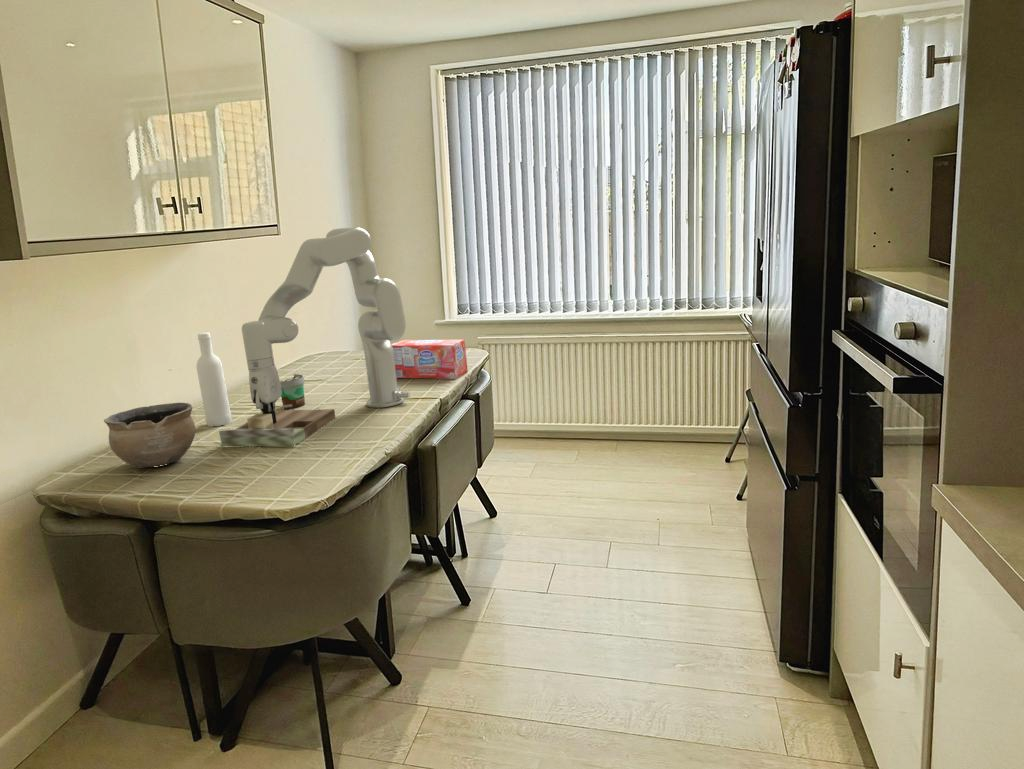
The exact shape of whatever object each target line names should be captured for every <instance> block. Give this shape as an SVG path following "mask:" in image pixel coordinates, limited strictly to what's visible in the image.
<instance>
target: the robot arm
mask: <svg viewBox="0 0 1024 769" xmlns="http://www.w3.org/2000/svg"><path fill="white" fill-rule="evenodd" d="M371 244H372V239H371V235H370V234H369V233H368V231H367V230H366V229H364V228H362V227H339V228H334V229H331V230H329V231H328V232H327V234H326V235H325V237H321V238H319V237H318V238H317V237H316V238H310V239H306V240H305V241H303V242H302V244H301V245H300V247H299V248H298V249H299V250H298V251H297V252H296V255H295V258H294V260H293V263H292V264H291V267H290V268H289V271H288V273H287V276H286V278H285V279H284V281H283V282H282V283H281V285H280V286H278V288H277V289H276V290H275V291H274V292H273V293H272V295H271V296H270V297H269V298H268V300H267V301H266V303H265V305H264V306H263V308H262V311H261V313H260V314H259V318H258V320H253V321H248V322H245V323H243V324H242V325H241V334H242V339H243V344H244V353H245V359H246V364H247V369H248V370H247V371H248V382H249V383H248V384H249V393H250V397H251V401H252V403H253V404H254V405H255V409H256V410H259V409H260V412H261V414H272V419H273V424H275V423H276V422H277V421H276V415H275V411H276V402H277V401H278V400H279V398H281V396H282V389H281V384H280V382H281V381H280V375H279V372H278V369H277V367H276V364H275V359H274V353H273V346H272V345H273V344H285V343H286V344H287V343H290V342H292V341H293V340H294V339H297V337H298V334H299V325H298V324H297V322H296V321H295V320H294V319H292V318H290V317H286V316H287V314H288V312H289V311H290V310H291V309H292V308H293V307H294V306H295V305H296V304H298V303H300V302H301V301H303V300H304V299H306V298H308V297H309V296H310V295H311V294H313V291H314V289H315V287H316V284H317V282H318V280H319V278H320V275H321V274H322V271H323V268H325V267H334V266H339V265H341V264H343V263H346V265H347V266H348V268H349V271H350V272H349V273H350V275H351V276H350V277H351V280H352V286H353V288H354V289H353V290H354V295H355V297H356V298H355V299H356V301H357V303H358V304H359V305H360V306H362V307H365V308H376V309H372V310H367V311H365V312H364V313H362V314H361V315H360V317H359V319H358V322H357V328H358V333H359V336H360V339H361V342H362V346H363V352H364V360H365V368H366V375H367V383H368V390H369V399H368V400H366V402H365V404H366V407H370V408H378V409H379V408H387V407H388V408H389V407H393V406H397V405H401V404H402V403H403V402H404V399H410V397H411V394H410V392H409V391H408V390H407V391H402V389H401V387H398V378H396V370H395V361H394V352H393V347H392V344H393V343H391V341H398V340H400V339H401V338H403V336H404V334H405V332H406V324H407V323H406V316H405V312H404V307H403V301H402V297H401V292H400V289H399V288H398V286H397V284H396V283H395V282H394V281H393V280H392V279H390V278H385V277H380V276H379V272H378V268H377V264H376V261H375V258H374V256H373V254H372V252H371V251H370V248H371Z"/></svg>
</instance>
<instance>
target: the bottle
mask: <svg viewBox="0 0 1024 769" xmlns="http://www.w3.org/2000/svg"><path fill="white" fill-rule="evenodd" d="M197 340H198V343H199V350H200V354H201V355H200V356H199V358H198V359H197V362H196V372H197V377H198V384H199V389H200V393H201V399H202V405H203V410H204V417H205V422H206V426H207V425H208V426H207V427H209V426H217V427H222V426H221V425H223V426H225V425H226V424H227V425H229V424H231V423H232V422H233V420H232V412H231V408H230V403H229V396H228V390H227V385H226V380H225V379H226V378H225V373H224V372H225V371H224V367H223V363H222V361H221V359H220V357H219V356H218V355H216V354H215V353H214V350H213V344H212V336H211V332H208V331H206V332H200V333H198V334H197Z"/></svg>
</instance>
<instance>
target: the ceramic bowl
mask: <svg viewBox="0 0 1024 769" xmlns="http://www.w3.org/2000/svg"><path fill="white" fill-rule="evenodd" d="M192 412H193V405H192V404H191V403H189V402H171V403H163V404H161V403H160V404H156V405H149V406H142V407H139V406H138V407H136V408H132V409H127V410H124V411H120V412H117V413H114V414H112V415H109V416H108V417H106V418H105V419H104V420H103V422H104V424H106V426H107V427H108V430H109V431H108V444H109V447H110V450H111V451H112V452H113V453H114V454H115V455H116V457H117V458H119V459H120V460H121V461H123V462H124V463H125V464H128V465H130V466H132V467H135V468H137V467H154V466H160V465H165V464H168V465H170V464H169V463H171V464H173V463H175V462H178V461H179V460H181V458H182V457H183V456H184V455H185V454H186V453H187V452H188V450H189V449H190V447H191V446H192V444H193V442H194V439H195V435H196V425H195V421H194V419H193V417H192V415H191V414H192ZM172 462H173V463H172Z"/></svg>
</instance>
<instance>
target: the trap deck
mask: <svg viewBox="0 0 1024 769" xmlns="http://www.w3.org/2000/svg"><path fill="white" fill-rule="evenodd" d="M275 415H276V421H277V422H276V423H275V424H273V426H274V429H249V428H248V422H246V423H243V424H242V425H241V426H239V427H237V428H235V429H219V437H220V444H221V447H222V446H240V447H239V448H242V447H241V446H246V447H245V448H255V447H254V446H278V447H295V446H294V445H296V444H297V443H298V444H300V443H301V442H303V441H304V440H306V439H307V438H309V437H310V436H312V435H313V434H314V432H315V431H316V432H317V430H318V429H319V430H320V429H322V428H324V427H325V426H327V425H328V424H329V423H331V422H332V421H333V419H334V420H335V419H336V412H335V409H334V408H330V409H329V408H327V409H326V408H325V409H323V408H322V409H298V410H297V409H286V410H284V409H283V410H275ZM330 421H331V422H330ZM327 423H328V424H327ZM324 425H325V426H324ZM321 427H322V428H321ZM319 430H318V431H319ZM316 432H315V433H316ZM312 433H313V434H312ZM311 434H312V435H311ZM309 435H310V436H309ZM308 436H309V437H308ZM306 437H307V438H306ZM305 438H306V439H305ZM303 439H304V440H303ZM302 440H303V441H302ZM300 441H301V442H300ZM299 442H300V443H299ZM298 444H297V445H298ZM292 445H293V446H292ZM297 445H296V446H297ZM247 446H249V447H247ZM251 446H252V447H251Z"/></svg>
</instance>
